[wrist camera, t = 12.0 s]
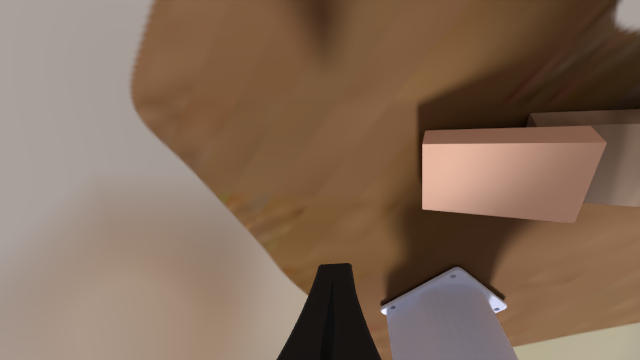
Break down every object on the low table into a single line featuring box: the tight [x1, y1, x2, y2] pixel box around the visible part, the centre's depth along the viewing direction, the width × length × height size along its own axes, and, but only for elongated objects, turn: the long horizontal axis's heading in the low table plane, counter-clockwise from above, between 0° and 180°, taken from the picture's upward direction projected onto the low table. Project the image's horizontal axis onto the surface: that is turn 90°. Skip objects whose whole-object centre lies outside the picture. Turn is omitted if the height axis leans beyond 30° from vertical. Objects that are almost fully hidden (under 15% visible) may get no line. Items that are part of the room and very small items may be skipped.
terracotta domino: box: [422, 126, 607, 223], centre depth 16 cm, size 2×5×8 cm
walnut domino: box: [526, 109, 640, 207], centre depth 15 cm, size 2×5×8 cm
